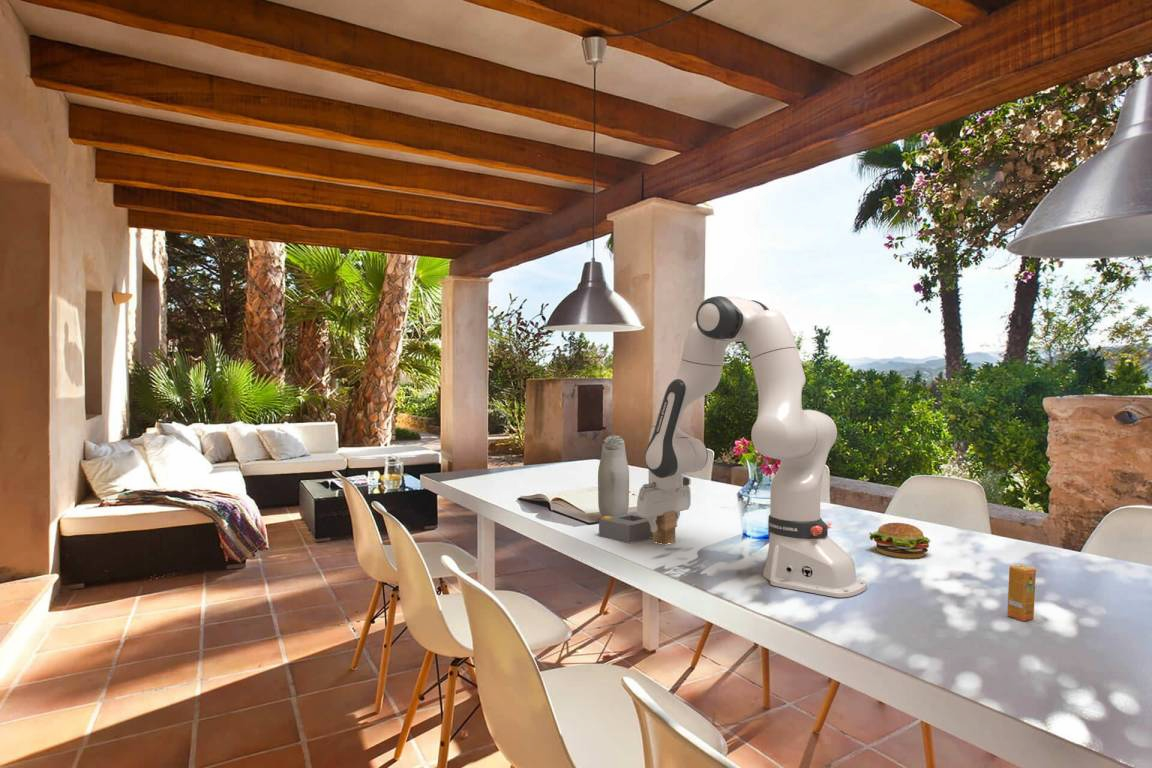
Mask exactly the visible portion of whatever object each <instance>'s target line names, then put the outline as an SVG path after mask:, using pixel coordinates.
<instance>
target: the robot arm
mask: <svg viewBox="0 0 1152 768" xmlns="http://www.w3.org/2000/svg"><path fill="white" fill-rule="evenodd" d="M734 342H735V344H743V343H744V344H745V345H746V347H747V350H748V354H749V357H750V362H751V367H752V371H753V374H754V379H755V382H756V386H757V387H756V388H757V395H758V409H757V418H756V421H755V422H754V424H753V425H752V429H751V442H752V444H753V447H754V449H755V450H756V451H757V452H758V453H759V454H760V455H761V456H763V457H766V458H770V459H775V460H780V463H779V466H778V469H777V471H776V474H775V475H774V476H773V478H771V479H772V480H771V482H770V493H769V494H770V504H769V506H770V510H769V511H770V514H769V515H768V521H767V522H768V524H767V526H768V527H767V532H768V538H769V540H768V549H767V556H766V562H765V565H764V569H763V572H762V576H763V577H764V578H765V579H766V580H768V581H769V584H770V585H772V586H774V587H778V588H785V589H789V590H796V591H800V592H807V593H811V594H817V595H822V596H827V597H828V596H829V597H833V598H849V597H853V596H856V595H859V594H862V593H863V592H864V591H865V590H866V589H867V587H868V585H867V581H866V580H865V579H862V578H859V577H857V573H856V572H857V571H856V566H855V562H854V560H853V557H852V556H851V555H850V554H849V553H848V552H846V551H845V550H844V549H843V548H842V547H841V546H840V545H838V544H837V543H836V542H835V541H834V540H833V539H832V538H831V537H830V536H829V533H828V530H829V529H831V528H832V526H831V525H832V523H831V522H830V523H825V521H824V520H823V519H822V518H821V492H822V491H821V489H822V480H823V475H824V472H825V467H826V464H827V463H826V462H827V460H828V456H829V453H830V451H831V449H832V447H833V445H834V444H835V443H836V441H837V438H838V437H837V436H838V429H837V426H836V425H837V424H836V423H835V422H834V420H833V419H832V418H831V416H829V415H827V413H826V414H825V413H824V412H821V411H818V410H813V409H803V404H802V403H803V402H802V401H803V400H802V398H803V397H802V393H803V388H804V386H805V385H806V381H807V380H806V375H805V372H804V367H803V365H802V360H801V357H800V353H799V349H798V347H797V343H796V340H795V336H794V334H793V332H792V330H791V328H790V325H789V323H788V321H787V319H786V317H785V316H784V314H783V313H781V312H779V311H778V310H775V309H769V308H768V307H767V306H766V305H765V304H763V303H762V302H760V301H758V300H753V299H751V300H750V299H746V298H742V297H738V296H723V295H722V296H721V295H717V296H711V297H708V298H706V299H705V300H703V301H702V302H701V303H700V304H699V305H698V308H697V311H696V315H695V322H693V323H691V325H690V327H689V329H688V332H687V334H686V338H685V341H684V345H683V348H682V353H681V359H680V363H679V367H678V371H677V372H676V374H675V376H674V378H673V380H672V381H671V382H670V383H669V385H668V386H667V388H666V390H665V393H664V396H663V399H662V403H661V406H660V409H659V413H658V416H657V419H656V424H655V425H654V426H653V427H651V429H650V432H649V437H648V444H647V447H646V449H645V452H644V462H645V465H646V467H647V469H648V483H644V484H642V486H641V487H640V488H639V490H638V491H639V492H638V495H637V500H636V501H637V502H636V512H637V515H638V517H641V518H646V519H648V522H649V524H650V525H651V532H654V533H655V532H658V531H659V526H658V525H657V524H656V522H655V520H657V516H661V515H664V513H665V512H670V511H675V528H677V527H678V522H679V518H680V516H681V512H683V511H686V510H687V511H688V510H689V509H690V507H691V501H692V499H691V498H692V497H691V495H692V494H691V487H690V485H691V484H692V479H691V477H688V476H685V474H690V473H696V472H699V471H701V470H703V469H704V468H705V466H706V465H707V462H708V456H709V455H708V449H707V447H706V444H705V443H704V442H703V441H702V440H701V439H700V438H696V437H693V436H691V435H689V434H687V433H685V432H684V431H682V430H681V428H680V424H681V421H682V417H683V414H684V413H685V410H686V409H687V408H688V407H689V406H690V405H692V403H694V402H695V401H697V400H699V399H701V398H702V397H703V398H704V397H705V396H706V395H707V396H708V395H709V394H710V393H712V392H713V391H714V390H715V389H716V388H717V387H718V385H719V382H720V381H721V377H722V373H723V367H724V360H725V354H726V349H727V348H728V346H729V345H730V344H732V343H734Z"/></svg>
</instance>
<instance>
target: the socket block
mask: <svg viewBox="0 0 1152 768" xmlns="http://www.w3.org/2000/svg"><path fill="white" fill-rule="evenodd" d="M598 536H599V537H603V538H607V539H610V540H615V541H618V540H619V541H618V542H622V541H623V543H626V542H628V543H627V544H632V543H636V542H640V541H644V540H646V538H648V539H651V538H650V537H652V538H653V532H651V525H650V524H649V522H648V519H646V518H641V517H638V515H637V511H630V512H627V513H625V514H620V515H615V516H611V517H610V516H605V517H602V516H601V518H598ZM643 539H644V540H643ZM639 540H640V541H639ZM635 541H636V542H635ZM631 542H632V543H631Z"/></svg>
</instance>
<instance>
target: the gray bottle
mask: <svg viewBox="0 0 1152 768" xmlns="http://www.w3.org/2000/svg"><path fill="white" fill-rule="evenodd" d="M597 492H598V493H597V502H598V504H597V505H598V510H599V514H600V516H601V518H602V517H605V516H610V517H611V516H615V515H620V514H625V513H629V506H630V504H629V503H630V468H629V463H628V460H627V453H626V444H625V440H624V439H623V438H622V436H620V435H616V434H612V435H608V436H606V437H605V438H604V439H603V441H602V445H601V455H600V460H599V465H598V471H597Z"/></svg>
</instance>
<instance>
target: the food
mask: <svg viewBox="0 0 1152 768" xmlns="http://www.w3.org/2000/svg"><path fill="white" fill-rule="evenodd" d="M869 539H870V540H871V541H874V542H875V543H876V544H875V545H876V546H875V547H876V548H875V549H876V551H877V553H880V554H881V555H884V556H887V555H888V556H887V557H892V558H900V559H918V558H923V557H924V556H925V555H926V552H928V549H929V547H930V543H931V541H932V540H930V538H928V537H926V536H925V535H924V533H923V531H922V530H921V529H920V528H919V527H917V526H916V525H913V524H909V523H904V522H888V523H884V524H882V525H880V526H879V527H878V530H876V531H874V532H873V533H871V531H870V532H869Z"/></svg>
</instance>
